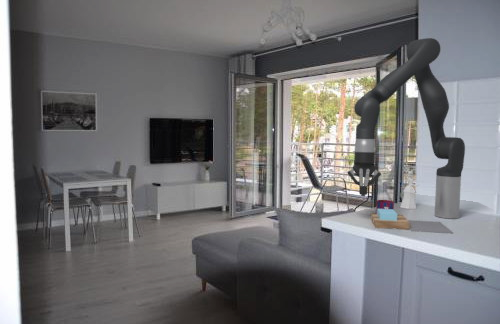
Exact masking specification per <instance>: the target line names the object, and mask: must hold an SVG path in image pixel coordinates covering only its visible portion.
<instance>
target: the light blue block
mask: <svg viewBox="0 0 500 324" xmlns="http://www.w3.org/2000/svg"><path fill="white" fill-rule="evenodd" d="M397 215H398V213H397V212H396V211H395V209H394V210H393V209H377V216H378V217H379V219H380V220H392V221H397Z"/></svg>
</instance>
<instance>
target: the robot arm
mask: <svg viewBox="0 0 500 324" xmlns="http://www.w3.org/2000/svg"><path fill="white" fill-rule="evenodd" d="M439 55H441V44H440V43H439V41H438V40H437V39H435V38H432V37H431V38H430V37H429V38H428V37H426V38H420V39H415V40H412V41H410V42H409V43H408V45H407V46H406V58H407V61H406V62H403V64H401V65H399V66H398V67H397V68H395V69H394V70H392V71H391V72H389V73H388V74H387V75H385V76H383V78H382V79H381V80H380V81H379V82H377V84H375V86H374V87H373V88H372V89H370V90H369V91H367V93H365V94H364V95H362V96H361V97H360V98H359V99H358V100H357V102H355V104H354V106H353V107H354V108H353V110H354V113H355V114H356V116H358V117H360V122H359V123H358V124H357V125H356V131H355V142H354V156H353V157H354V158H353V159H354V161H353V165H352V168H351V169H349V170H348V171H347V175H348V176H349V177H350V179H351V180H352V181H353V182H354V185H357V186H358V187H359V188H358V193H359V195H360V196H361V197H365V196H367V195H368V187H369V186H372V185H373V184H374V183H375V182H376V181H377V180H378V179H379V178H380V176H382V173H381V172H380V171H378V170H377V168H376V165H375V162H376V161H375V160H376V126H377V124H378V121H379V115H380V111H381V110H380V104H382V103H385V102H386V101H388V100H389V99H390V98H391V97H392V96H393V95H394V94H395V93H396V92H397V91H398V90H399V89H400V88H402V86H403V85H405V84H406V83H407V82H408V81H410V79H412V78H413V77H414V80H415V82H416V86H417V90H418V93H419V96H420V100H421V105H422V106H423V107H422V108H423V111H424V113H425V117H426V120H427V124H428V130H429V134H430V135H429V136H430V140H431V147H432V151H433V154H434V156H435V157H436V158H437V159H439V160H440V159H441V160H447V163H446V164H445V165H444V166H441V167H438V168H437V169H436V173H435V176H436V178H435V197H434V200H435V201H434V217H437V218H441V219H442V218H443V219H450V220H452V219H453V220H454V219H459V218H460V206H461V205H460V203H461V185H462V184H461V183H462V182H461V180H462V172H463V169H464V165H465V164H464V163H465V154H466V145H465V142H464V140H463V139H462V138H460V137H456V136H455V137H452V136H451V137H450V136H446V135H445V131H444V124H445V120H446V117H448V116H447V115H448V112H449V109H450V104H449V98H448V95H447V92H446V89H445V88H444V87H443V85H442V84H441V82H440V81H439V80H438V78H436V76H435V75H434V73H433V71H432V68H431V66H430V64H432V63H433V62H434V61H435V60H437V59H438V57H439ZM354 174H356V176H357V177H358V180H357V179H356V177H355V175H354ZM372 175H373V176H372ZM371 176H372V178H371V179H370V180H369V178H370V177H371Z"/></svg>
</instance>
